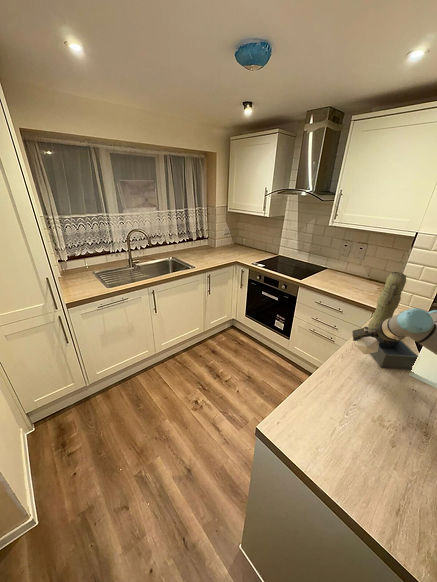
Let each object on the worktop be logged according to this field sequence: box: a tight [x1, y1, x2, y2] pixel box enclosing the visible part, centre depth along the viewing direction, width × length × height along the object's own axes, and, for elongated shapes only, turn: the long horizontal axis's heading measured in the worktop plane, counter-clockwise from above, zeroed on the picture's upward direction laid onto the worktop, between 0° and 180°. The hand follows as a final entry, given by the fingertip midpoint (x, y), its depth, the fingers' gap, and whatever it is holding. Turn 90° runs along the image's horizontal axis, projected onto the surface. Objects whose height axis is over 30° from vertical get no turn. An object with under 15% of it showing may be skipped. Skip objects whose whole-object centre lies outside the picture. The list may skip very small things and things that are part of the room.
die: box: [354, 337, 379, 355], centre depth 102 cm, size 8×9×10 cm
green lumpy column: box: [367, 271, 407, 329], centre depth 121 cm, size 9×12×35 cm
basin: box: [369, 337, 419, 370], centre depth 109 cm, size 14×14×7 cm
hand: (365, 339), depth 105 cm, fingers closed on die, 9 cm apart
